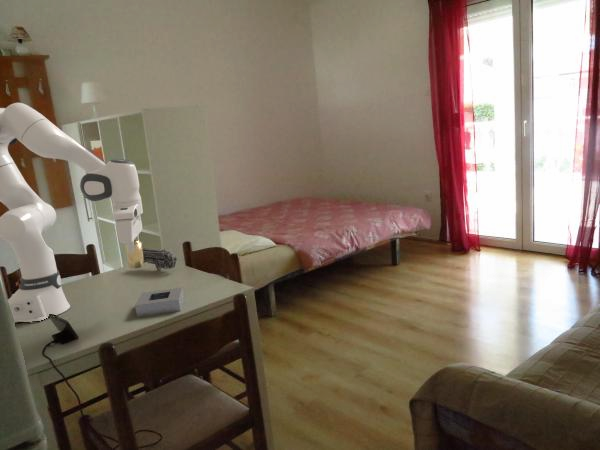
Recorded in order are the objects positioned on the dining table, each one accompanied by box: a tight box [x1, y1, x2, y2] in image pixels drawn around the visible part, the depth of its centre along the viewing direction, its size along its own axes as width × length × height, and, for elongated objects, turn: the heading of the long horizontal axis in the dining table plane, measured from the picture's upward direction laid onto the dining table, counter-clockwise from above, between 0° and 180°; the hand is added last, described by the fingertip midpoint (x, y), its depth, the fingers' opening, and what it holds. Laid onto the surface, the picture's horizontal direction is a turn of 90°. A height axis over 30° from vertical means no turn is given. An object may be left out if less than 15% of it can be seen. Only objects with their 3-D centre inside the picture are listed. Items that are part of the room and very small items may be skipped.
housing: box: [134, 287, 185, 318], centre depth 162 cm, size 14×12×5 cm
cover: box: [125, 239, 145, 270], centre depth 157 cm, size 5×5×9 cm
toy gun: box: [142, 247, 178, 271], centre depth 208 cm, size 3×24×10 cm, turn 55°
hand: (134, 250), depth 157 cm, fingers closed on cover, 5 cm apart
